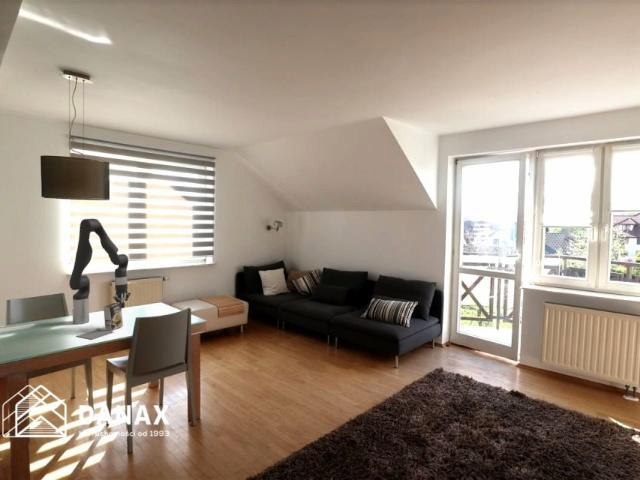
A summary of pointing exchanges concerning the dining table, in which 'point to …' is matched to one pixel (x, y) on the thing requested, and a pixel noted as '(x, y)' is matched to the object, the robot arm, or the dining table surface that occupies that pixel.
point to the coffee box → (113, 316)
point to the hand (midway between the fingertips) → (122, 307)
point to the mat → (95, 334)
